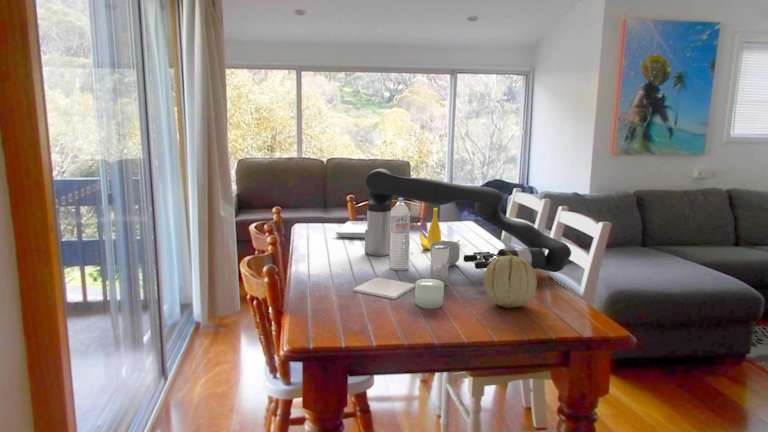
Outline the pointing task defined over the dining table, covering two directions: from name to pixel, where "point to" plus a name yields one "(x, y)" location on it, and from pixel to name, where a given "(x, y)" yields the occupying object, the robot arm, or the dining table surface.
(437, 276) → the can
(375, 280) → the tile
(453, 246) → the teacup
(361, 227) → the square plate
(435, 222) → the banana peel
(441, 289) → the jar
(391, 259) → the water bottle
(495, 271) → the cantaloupe
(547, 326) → the dining table surface
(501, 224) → the robot arm
